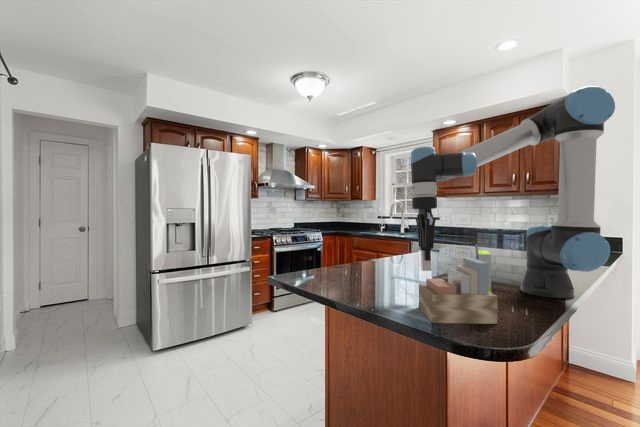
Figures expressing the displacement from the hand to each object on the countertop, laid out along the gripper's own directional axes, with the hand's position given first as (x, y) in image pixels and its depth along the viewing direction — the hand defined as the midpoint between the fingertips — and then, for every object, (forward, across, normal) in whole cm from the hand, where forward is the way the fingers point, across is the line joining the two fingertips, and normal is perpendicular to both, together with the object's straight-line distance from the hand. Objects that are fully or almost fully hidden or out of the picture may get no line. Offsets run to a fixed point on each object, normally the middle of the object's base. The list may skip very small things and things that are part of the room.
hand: (426, 270), depth 101 cm
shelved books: (+10, +15, +7) cm, 19 cm away
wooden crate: (+10, +15, +3) cm, 18 cm away
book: (+10, +15, -1) cm, 18 cm away
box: (+10, -2, +18) cm, 21 cm away
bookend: (+10, +15, +4) cm, 19 cm away
